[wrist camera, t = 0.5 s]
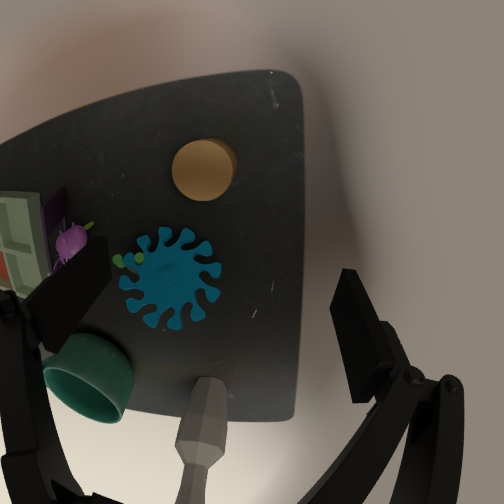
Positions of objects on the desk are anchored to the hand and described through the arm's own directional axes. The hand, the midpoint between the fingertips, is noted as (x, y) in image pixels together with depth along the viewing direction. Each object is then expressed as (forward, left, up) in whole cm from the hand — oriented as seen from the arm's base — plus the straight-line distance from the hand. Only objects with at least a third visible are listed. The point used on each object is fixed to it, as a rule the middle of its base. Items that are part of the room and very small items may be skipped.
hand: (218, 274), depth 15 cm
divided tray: (+9, -32, -13) cm, 36 cm away
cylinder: (-3, -3, -13) cm, 14 cm away
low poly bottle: (+28, -1, -13) cm, 30 cm away
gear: (+7, -6, -13) cm, 16 cm away
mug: (+26, -20, -13) cm, 35 cm away
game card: (+5, -18, -13) cm, 23 cm away
